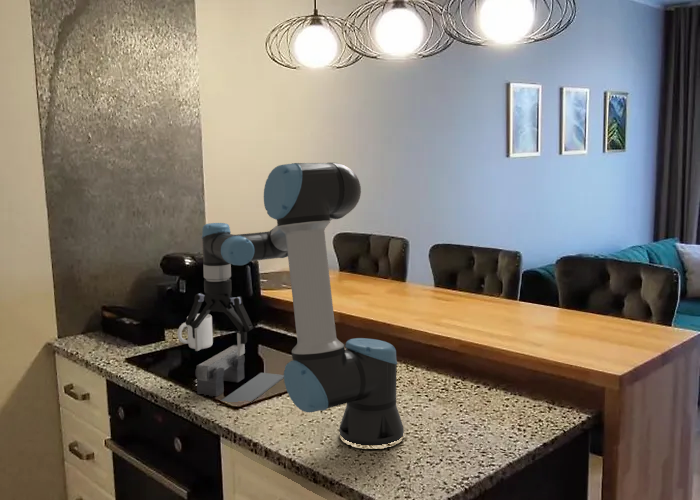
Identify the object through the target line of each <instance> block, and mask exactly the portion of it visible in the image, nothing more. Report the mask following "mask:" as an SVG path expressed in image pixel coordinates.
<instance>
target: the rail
mask: <svg viewBox="0 0 700 500" xmlns="http://www.w3.org/2000/svg"><path fill="white" fill-rule="evenodd" d="M237 357H238V346H237V344H233V345H231V346H229V347H228V348H226V349H224V350H223V351H220V352H219V353H217V354H215V355H213V356H212V357H210V358H208V359H207V360H205V361H203V362H201V363H199V364H197V365H196V369H197V377H196V381H197V380H201V381H208V380H210V379H211V378H213V371H215V370H217V369H218V368H224V370H226V369H228V368H229V367H231V366H232V365H234V359H235V358H237Z"/></svg>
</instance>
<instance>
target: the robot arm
mask: <svg viewBox="0 0 700 500" xmlns="http://www.w3.org/2000/svg"><path fill="white" fill-rule="evenodd" d="M361 188H362V187H361V183H360V180H359V177H358V176H357V175H356V173H355V172H354V171H353V170H352V169H351V168H350V167H348V166H346V165H344V164H342V163H338V162H294V163H292V162H291V163H286V164H280V165H277V166H276V167H274V168H273V169H272V170H271V171H270V172H269V174H268V176H267V179H266V180H265V184H264V189H263V204H264V209H265V211H266V213H267V215H268V216H269V218H271V219H273V220H276V223H277V224H276V225H275V226H274V227H273V228H272V229H270V230H269V231H268V230H267V231H262V232H261V231H260V232H250V233H249V232H248V233H239V234H231V227H230V224H228V223H224V222H210V223H206V224H204V225H203V226H202V231H201V233H202V234H201V235H202V236H201V240H202V257H203V259H202V262H203V278H204V280H203V288H204V289H203V290H204V291H203V292H204V294H203V293H202V292H200V293H197V294H195V295H194V301H193V305H192V306H191V310H190V311H189V313H188V316H187V317H188V318H187V317H186V320H185V322H186V325H190V326H191V327H192V334H193V338H195V349H194V351H195V352H198V351H200V350H203V349H202V348H203V342H202V326H199V325H200V323H201V322H202V321H203V320H204V318H205V317H206V316H207V315H208V314H210V312H212V313H213V312H218V313H224V314H225V315H226V316H227V317H228V318H229V320H230V321H231V322H232V324H233V325H234V326H235V328H236V329H237V330H238V332H237V333H236V341H237V344H236V345H237V346H238V356H241V355H244V354H245V353H246V349H245V348H246V347H245V345H246V343H247V342H248V332H250V331H251V330H254V325H253V323H252V321H251V319H250V317H249V314H248V312H247V311H246V308H245V305H244V304H243V297H242V296H241V295H240V296H237V297H233V296H232V279H231V277H232V267H231V266H232V265H233V266H244V265H247V264H249V263H250V262H257V261H264V260H274V259H285V258H287V259H288V270H289V276H290V277H289V278H290V287H291V295H292V304H293V312H294V322H295V330H296V339H297V343H296V345H295V346H294V347H293V348H292V350H291V355H292V359H291V360H290V361H289V362H288V363H286V365H285V366H284V371H283V375H284V378H283V381H284V386H285V389H286V392H287V394H288V396H289V398H290V400H291V401H292V402H293V404H294V405H295V406H296V408H297V409H299V410H300V411H303V412H304V413H315V412H323V411H326V410H328V409H330V408H335V407H338V406H342V405H345V404H346V407H345V409H344V412H343V415H342V419H341V422H340V424H339V428H338V429H339V432H340V435H341V436H342V437H343V438H344V439H345V440H347V441H349V442H352V443H356V444H361V445H382V444H388V443H391V442H394V441H397V440H399V439H400V438H401V437H402V436H403V433H404V432H405V431H404V429H405V428H404V424H403V422H402V419H401V416H400V412H399V409H398V406H397V372H398V371H397V367H398V361H397V350H396V348H395V346H394V345H393V344H391V343H390V342H387V341H385V340H380V339H375V338H364V337H356V338H350V339H347V341H346V342H345V343H343V342H341V341H340V340H339V339H338V338H337V331H336V324H335V323H336V321H335V316H334V313H335V312H334V306H333V305H334V304H333V297H332V287H331V279H330V269H329V261H328V253H327V244H326V243H327V242H326V234H325V233H326V232H325V230H326V228H327V227H328V226H329V224H330V223H331V221H332V220H339V219H342V218H344V217H345V216H347V215H348V214H349V213H351V212H352V211H353V210H354V209H355V208H356V206H357V205H358V203H359V201H360V198H361V193H362V191H361V190H362V189H361ZM203 302H205V304H206V305H205V306H204V307H203V309H202V310H201V312H200V313H199V311H200V309H201V306H202V304H203ZM233 306H234V307H233ZM197 314H199V316H198V317H197V318H196V316H197ZM195 318H196V320H195ZM194 320H195V321H194ZM339 432H338V433H339Z"/></svg>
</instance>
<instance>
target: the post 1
mask: <svg viewBox="0 0 700 500" xmlns="http://www.w3.org/2000/svg"><path fill="white" fill-rule="evenodd" d="M194 372H195V377H196V378H197V368H196V369H195V371H194ZM223 375H224V368H218V369H217V370H215V371H213V378H211V379H210V380H208V381H201V380H197V379H196V391H197V392H196V394H197V395H198V394H204V395H203V396H206V395H209V396H208V397H213V396H216V397H215V398H217V397H219V396H220V395H222V394H223V393H224V391H225V389H224V388H225V387H224V386H225V385H224V381H223Z"/></svg>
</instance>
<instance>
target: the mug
mask: <svg viewBox="0 0 700 500" xmlns="http://www.w3.org/2000/svg"><path fill="white" fill-rule="evenodd" d="M199 314H200V313H197V316H196V318H197V317H198V316H199ZM187 318H188V316H187V317H186V319H187ZM196 318H195V320H196ZM195 320H194V321H195ZM199 326H202V342H203V348H202V349H201V350H204V349H205V350H206V349H208V348H211V347H212V346H213V343H214V337H213V336H214V335H213V316H212V315H211V314H210V313H208V315H207V316H206V317H205V318H204V320H203V321H202V322H201V323H200V325H199ZM185 328H187V339H185V338H183V336H182V335H183V333H182V332H183V330H184V329H185ZM177 338H178V340H179V342H180V343H182V344H188V347H189V348H190V349H192V350H195V338H193V334H192V327H191V326H190V325H186V321H185V322H183V323H181V325H179V327H178V329H177Z"/></svg>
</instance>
